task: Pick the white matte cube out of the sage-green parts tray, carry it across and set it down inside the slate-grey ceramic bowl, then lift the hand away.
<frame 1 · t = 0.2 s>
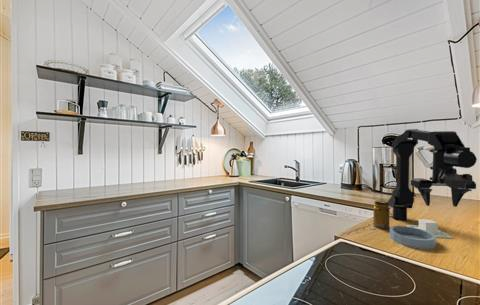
hand: (441, 206, 85), 14 cm above the worktop, tool pointing down, fingers open, 9 cm apart
white matte cube: (427, 231, 95), resting on tray
bowl: (411, 241, 87), on the worktop
tray: (427, 232, 95), on the worktop
condiment: (383, 229, 100), on the worktop
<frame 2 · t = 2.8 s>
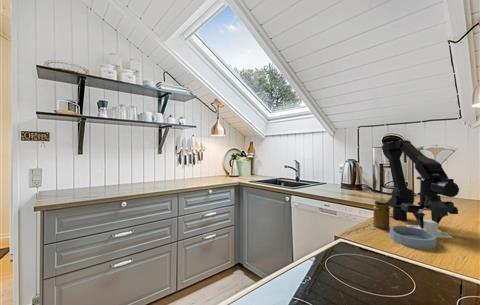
hand: (427, 228, 95), 2 cm above the worktop, tool pointing down, fingers closed on white matte cube, 4 cm apart
white matte cube: (427, 231, 95), resting on tray, touching gripper
everything else where it was.
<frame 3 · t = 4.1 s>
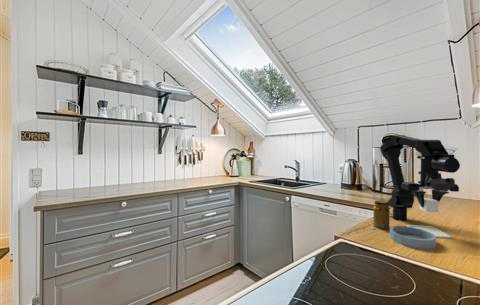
hand: (428, 207, 94), 11 cm above the worktop, tool pointing down, fingers closed on white matte cube, 4 cm apart
white matte cube: (428, 210, 94), point 10 cm above the worktop, touching gripper
everything else where it was.
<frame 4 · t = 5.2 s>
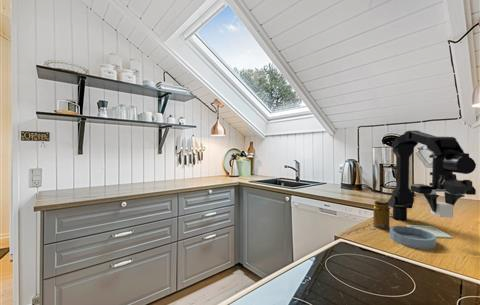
hand: (441, 211, 85), 12 cm above the worktop, tool pointing down, fingers closed on white matte cube, 4 cm apart
white matte cube: (441, 215, 85), point 11 cm above the worktop, touching gripper
everything else where it was.
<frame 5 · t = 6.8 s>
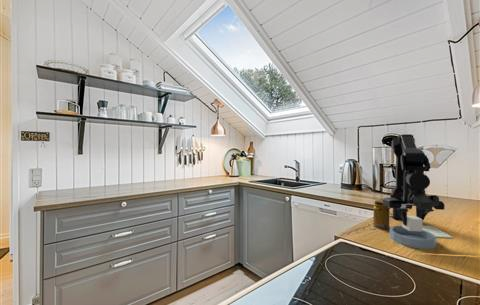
hand: (411, 225, 86), 6 cm above the worktop, tool pointing down, fingers closed on white matte cube, 4 cm apart
white matte cube: (411, 228, 86), point 5 cm above the worktop, touching gripper
everything else where it was.
when the fingers open (4 cm above the worktop, at t = 8.0 s): white matte cube drops 2 cm, resting on bowl.
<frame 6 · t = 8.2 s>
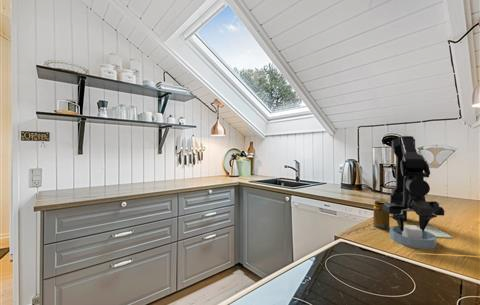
hand: (411, 231, 86), 4 cm above the worktop, tool pointing down, fingers open, 7 cm apart
white matte cube: (411, 239, 86), point 1 cm above the worktop, touching bowl
everything else where it was.
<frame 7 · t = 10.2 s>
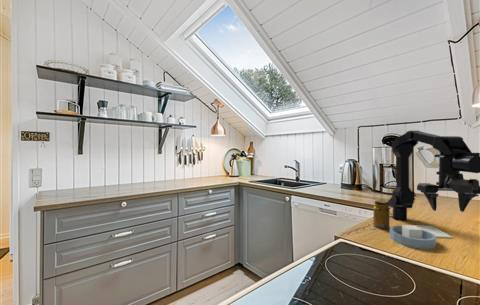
hand: (448, 211, 85), 12 cm above the worktop, tool pointing down, fingers open, 9 cm apart
nothing on the worktop moved.
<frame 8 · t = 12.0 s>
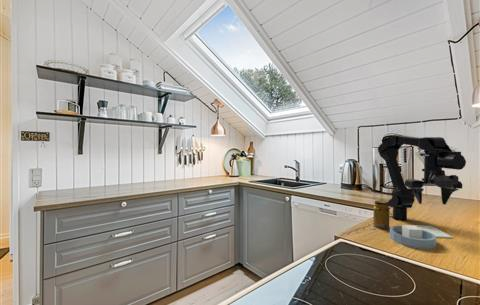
hand: (432, 204, 95), 12 cm above the worktop, tool pointing down, fingers open, 9 cm apart
nothing on the worktop moved.
at the end: white matte cube inside the target area on the bowl (0.0 cm from its centre), point 1.0 cm above the bowl's base; white matte cube touching bowl; the gripper is holding nothing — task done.
